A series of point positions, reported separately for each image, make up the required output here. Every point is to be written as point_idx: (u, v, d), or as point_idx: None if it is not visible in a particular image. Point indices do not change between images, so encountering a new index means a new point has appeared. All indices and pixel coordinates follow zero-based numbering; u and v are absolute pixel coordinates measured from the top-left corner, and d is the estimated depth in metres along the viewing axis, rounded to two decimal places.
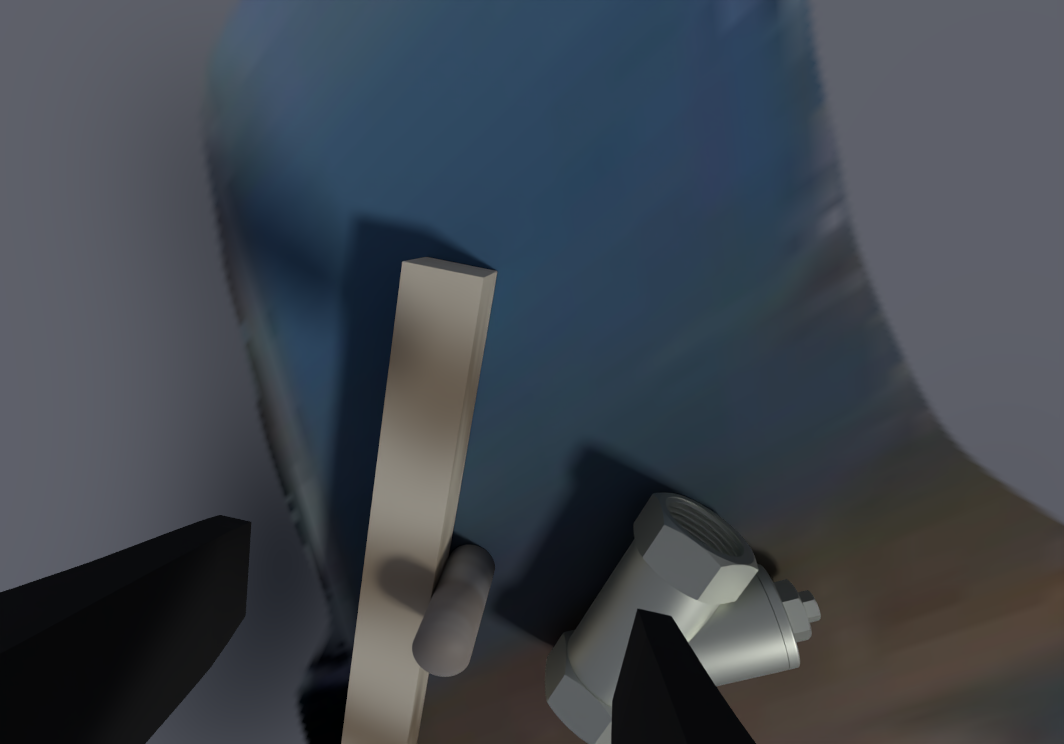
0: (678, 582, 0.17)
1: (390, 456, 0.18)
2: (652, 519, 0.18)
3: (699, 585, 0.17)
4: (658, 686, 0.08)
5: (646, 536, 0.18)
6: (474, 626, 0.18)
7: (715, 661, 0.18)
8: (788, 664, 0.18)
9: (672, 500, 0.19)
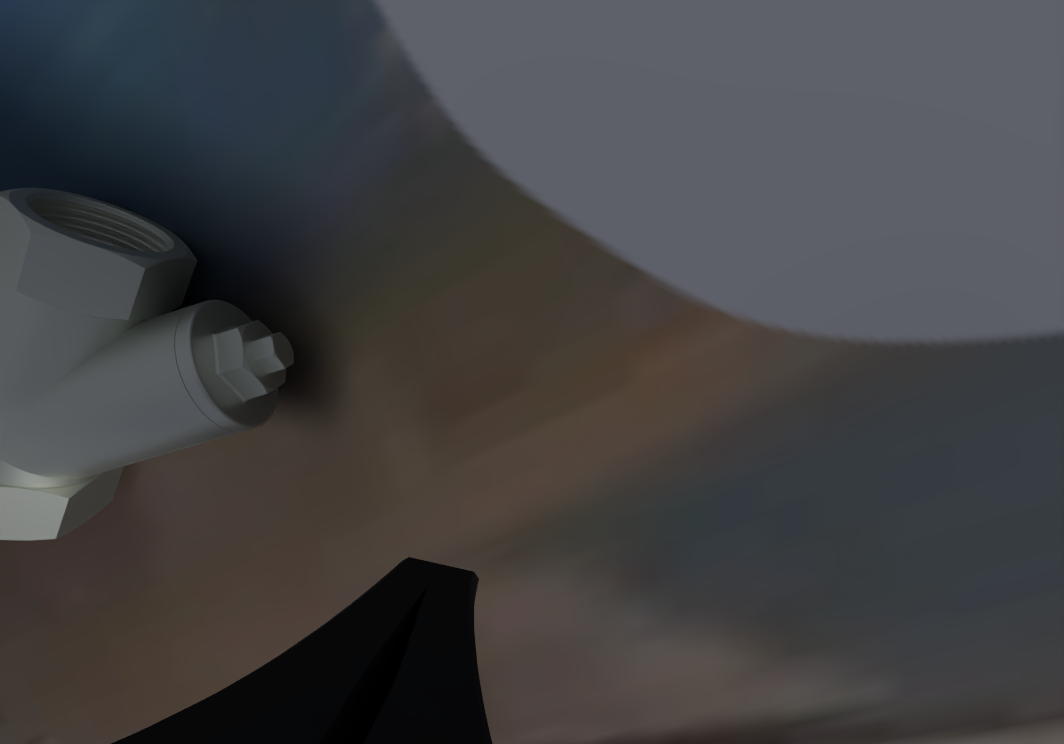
0: (4, 271, 0.12)
1: None
2: None
3: (17, 268, 0.12)
4: (414, 630, 0.08)
5: None
6: None
7: (92, 401, 0.13)
8: (204, 411, 0.13)
9: (96, 206, 0.14)
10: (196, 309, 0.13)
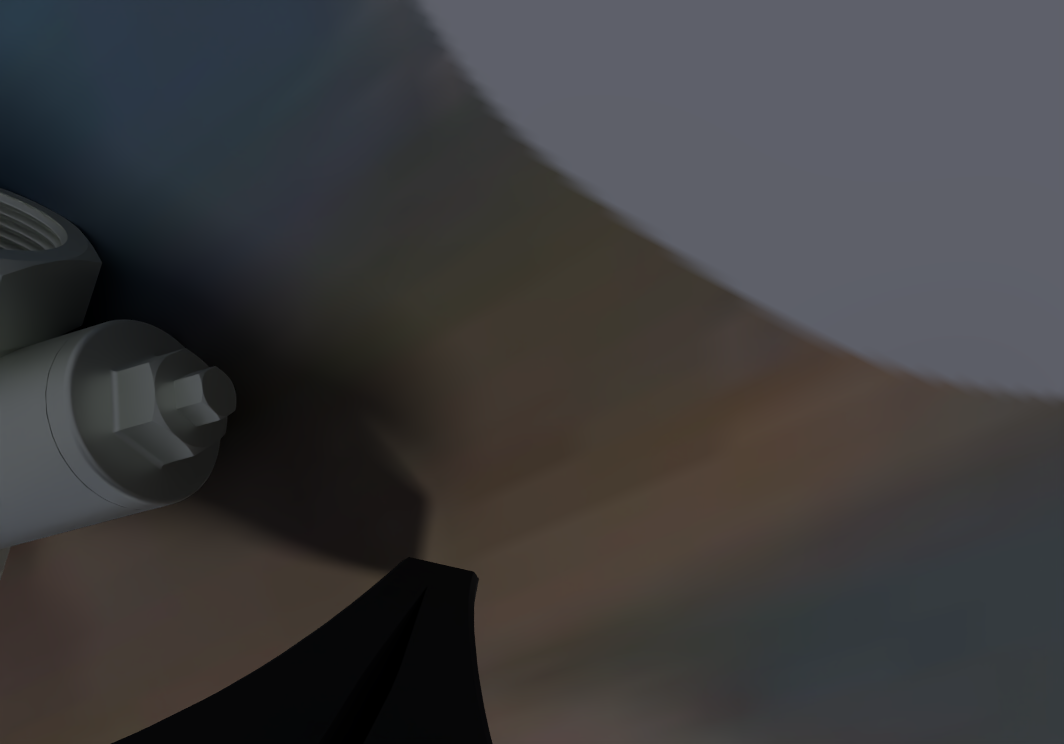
0: None
1: None
2: None
3: None
4: (414, 630, 0.08)
5: None
6: None
7: None
8: (93, 487, 0.09)
9: None
10: (86, 335, 0.09)
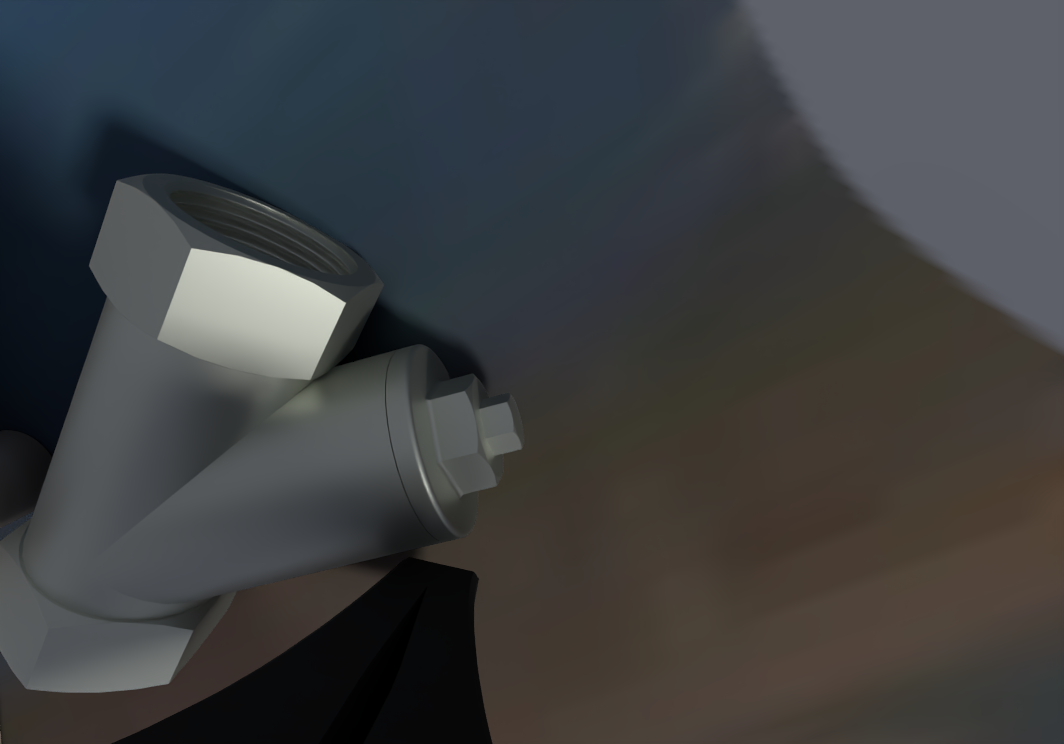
0: (134, 306, 0.08)
1: None
2: None
3: (161, 303, 0.07)
4: (414, 630, 0.08)
5: None
6: None
7: (254, 505, 0.08)
8: (422, 520, 0.08)
9: (243, 202, 0.10)
10: (407, 363, 0.09)
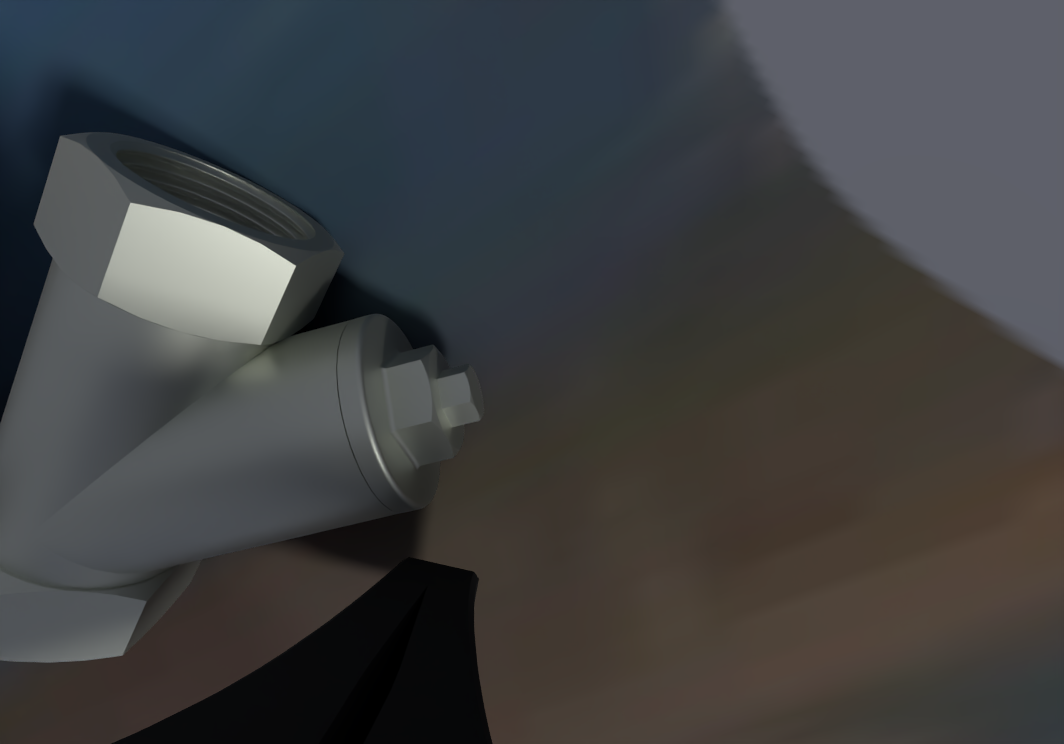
0: (75, 264, 0.07)
1: None
2: None
3: (101, 259, 0.07)
4: (414, 631, 0.08)
5: None
6: None
7: (203, 471, 0.08)
8: (374, 490, 0.08)
9: (200, 167, 0.09)
10: (362, 330, 0.09)
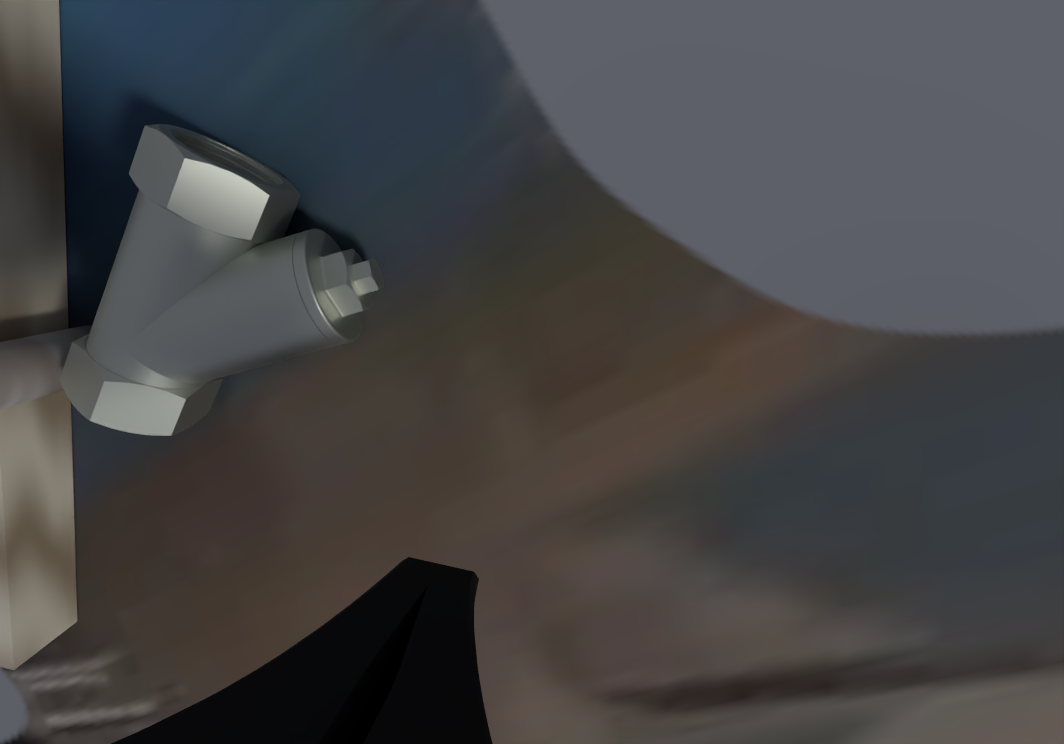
0: (154, 192, 0.14)
1: None
2: None
3: (168, 188, 0.14)
4: (414, 630, 0.08)
5: None
6: (10, 371, 0.15)
7: (220, 309, 0.15)
8: (314, 320, 0.15)
9: (216, 145, 0.16)
10: (307, 233, 0.15)
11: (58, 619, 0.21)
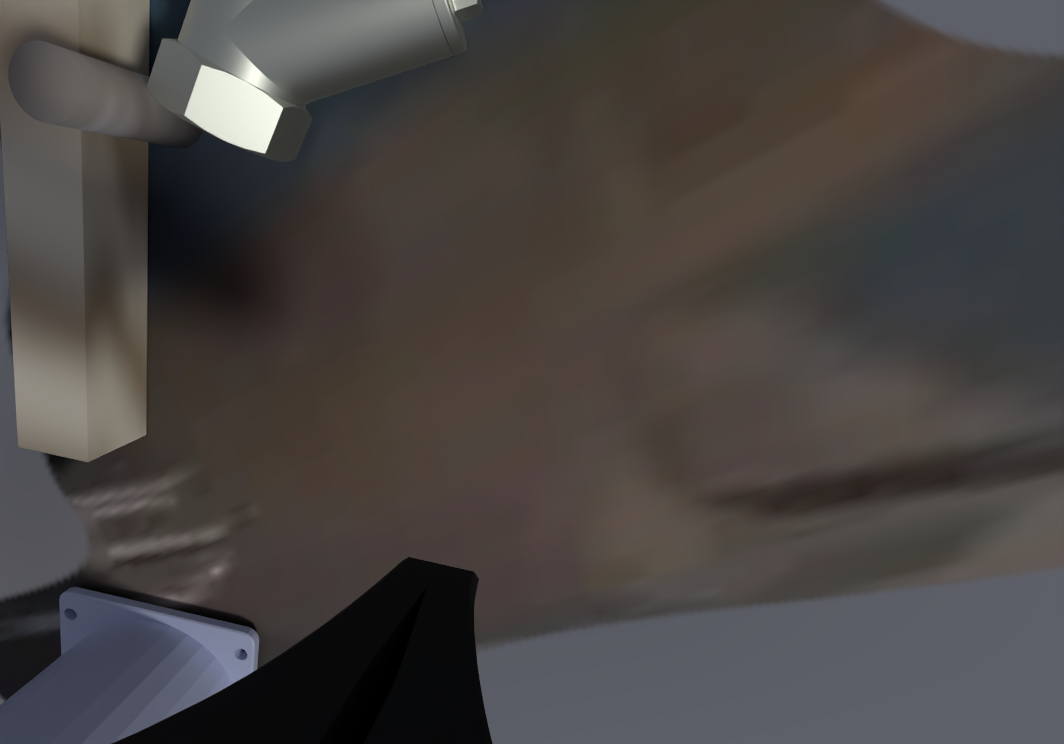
0: None
1: None
2: None
3: None
4: (414, 630, 0.08)
5: None
6: (105, 79, 0.14)
7: None
8: None
9: None
10: None
11: (129, 424, 0.20)
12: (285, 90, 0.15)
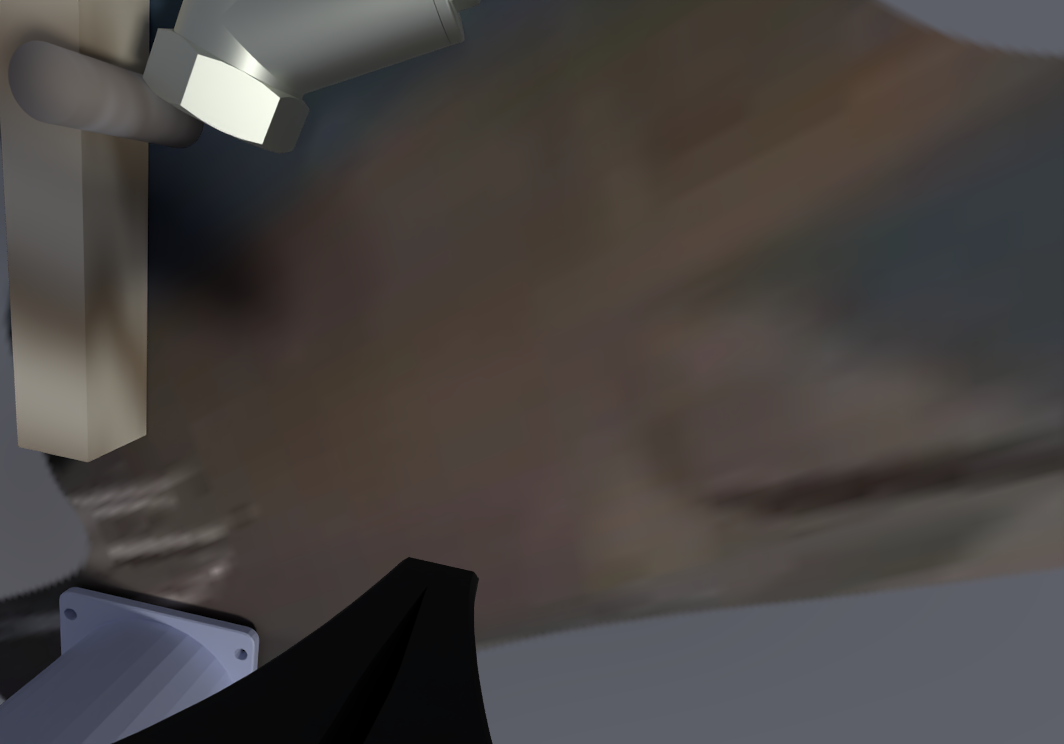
0: None
1: None
2: None
3: None
4: (414, 630, 0.08)
5: None
6: (105, 79, 0.14)
7: None
8: None
9: None
10: None
11: (129, 424, 0.20)
12: (282, 80, 0.15)
